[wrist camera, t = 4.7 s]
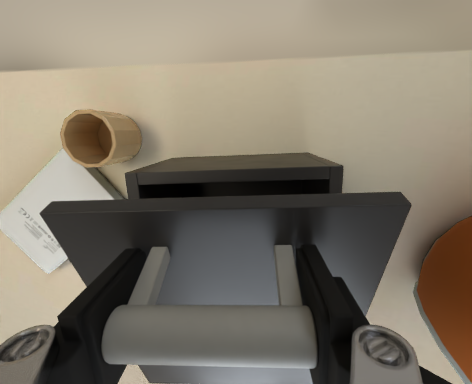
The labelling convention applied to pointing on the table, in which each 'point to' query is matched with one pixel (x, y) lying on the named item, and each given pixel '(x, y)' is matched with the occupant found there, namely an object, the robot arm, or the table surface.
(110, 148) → the wooden cup
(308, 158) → the open storage box
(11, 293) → the table surface
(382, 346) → the robot arm
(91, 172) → the hard drive
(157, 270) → the lid
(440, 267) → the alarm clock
